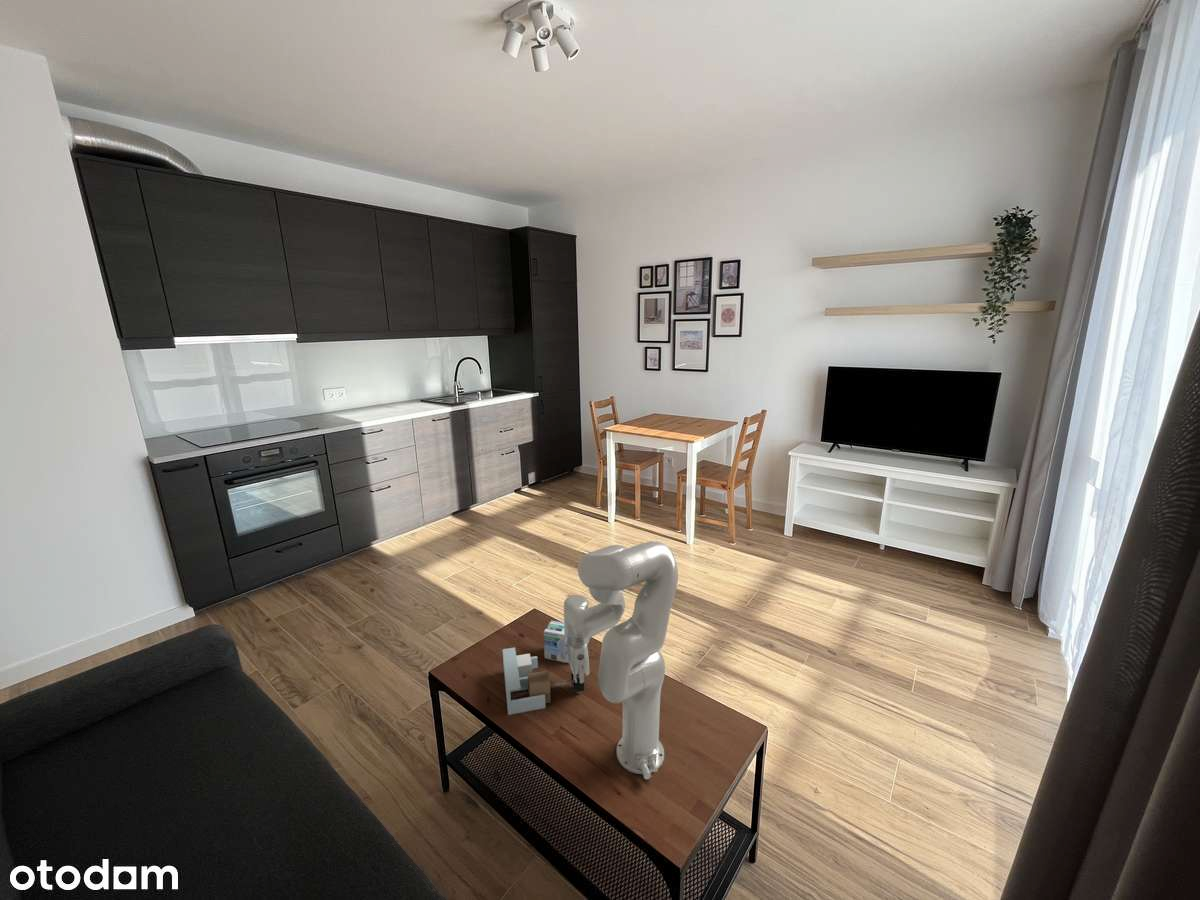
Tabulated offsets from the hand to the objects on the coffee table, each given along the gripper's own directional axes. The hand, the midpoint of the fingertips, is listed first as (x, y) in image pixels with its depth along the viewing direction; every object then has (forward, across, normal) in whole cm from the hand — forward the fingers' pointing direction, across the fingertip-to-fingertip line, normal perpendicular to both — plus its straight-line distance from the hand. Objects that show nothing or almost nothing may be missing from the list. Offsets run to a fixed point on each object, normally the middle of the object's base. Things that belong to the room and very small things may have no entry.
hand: (577, 687), depth 154 cm
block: (+1, +10, +16) cm, 19 cm away
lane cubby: (+1, +5, +16) cm, 17 cm away
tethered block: (+1, 0, +7) cm, 7 cm away
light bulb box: (+1, +18, +2) cm, 18 cm away
